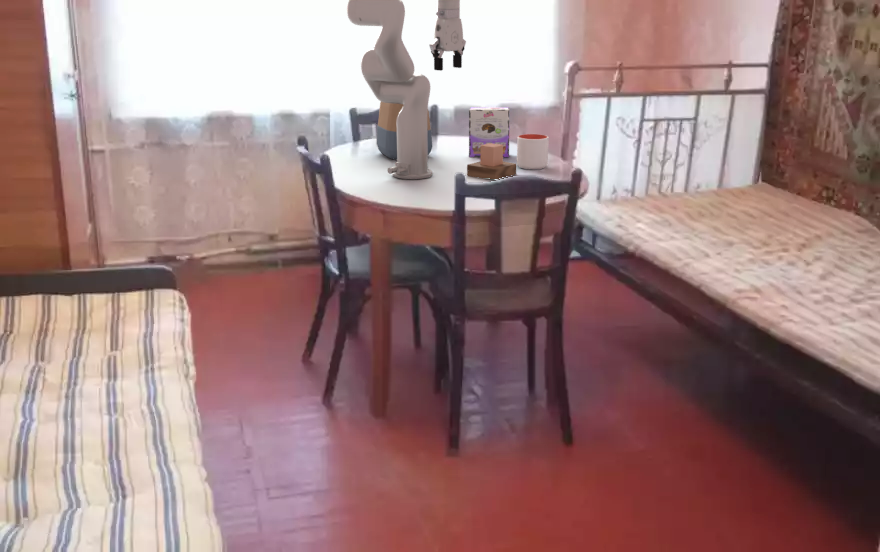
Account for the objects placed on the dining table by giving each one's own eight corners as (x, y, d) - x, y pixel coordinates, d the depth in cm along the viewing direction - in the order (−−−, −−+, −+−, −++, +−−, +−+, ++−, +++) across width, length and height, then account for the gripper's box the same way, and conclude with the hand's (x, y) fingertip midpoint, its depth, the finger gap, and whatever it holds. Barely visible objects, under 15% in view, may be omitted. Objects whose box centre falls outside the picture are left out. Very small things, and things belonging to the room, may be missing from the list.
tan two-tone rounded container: (435, 158, 322) (435, 89, 315) (389, 162, 316) (387, 92, 309) (418, 149, 337) (417, 83, 330) (373, 153, 331) (372, 86, 324)
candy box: (509, 154, 328) (510, 106, 323) (508, 157, 322) (509, 109, 317) (469, 153, 329) (469, 106, 324) (468, 157, 324) (468, 108, 319)
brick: (493, 166, 292) (493, 147, 290) (480, 164, 295) (480, 145, 293) (502, 163, 296) (503, 144, 294) (490, 161, 299) (490, 143, 297)
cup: (528, 162, 315) (528, 132, 312) (553, 166, 309) (554, 136, 306) (510, 167, 308) (511, 137, 304) (536, 171, 302) (537, 140, 298)
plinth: (495, 180, 290) (495, 169, 288) (467, 175, 296) (467, 164, 295) (516, 174, 298) (516, 163, 296) (488, 169, 304) (488, 159, 303)
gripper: (439, 16, 295) (440, 72, 300) (473, 13, 307) (473, 67, 313) (421, 15, 299) (422, 70, 305) (455, 13, 312) (455, 65, 317)
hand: (448, 68), depth 309 cm, fingers open, 9 cm apart
